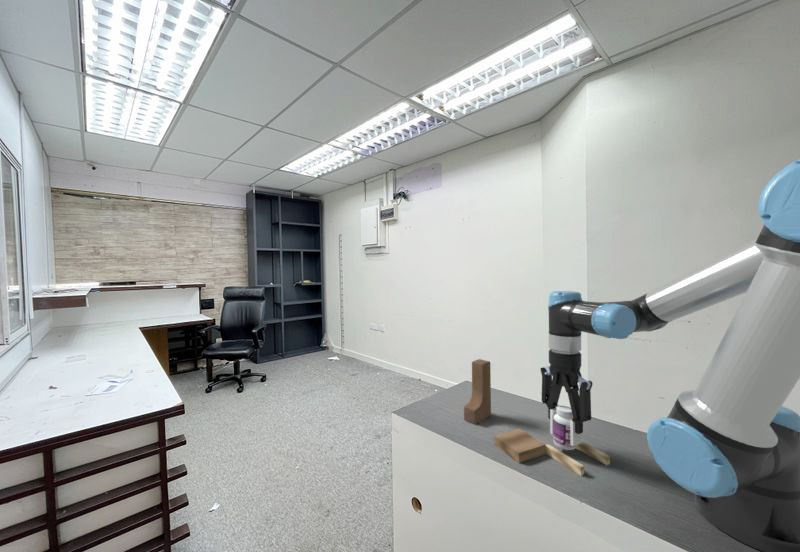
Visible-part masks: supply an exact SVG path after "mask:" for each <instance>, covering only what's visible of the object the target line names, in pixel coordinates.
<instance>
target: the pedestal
mask: <svg viewBox="0 0 800 552" xmlns="http://www.w3.org/2000/svg"><path fill="white" fill-rule="evenodd" d="M493 440H494V445H495V446H496V447H497V448H498V449H499V450H502V452H504V453H505V454H506V455H508V456H509V457H510V458H512V459H513V460H515V461H516V462H517V463H519V464H520V463H523V462H526V461H529V460H532V459H535V458H538V457H541V456H544V455H547V454H546V445H547V444H546V443H544V442H542V441H541V440H539V439H537V438H536V437H534V436H533V435H531V434H529V433H528V432H526V431H524V430H523V429H521V428H516V429H513V430H510V431H506V432H505V431H504V432H502V433H499V434H498V433H497V434H496V435H494V438H493Z"/></svg>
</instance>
